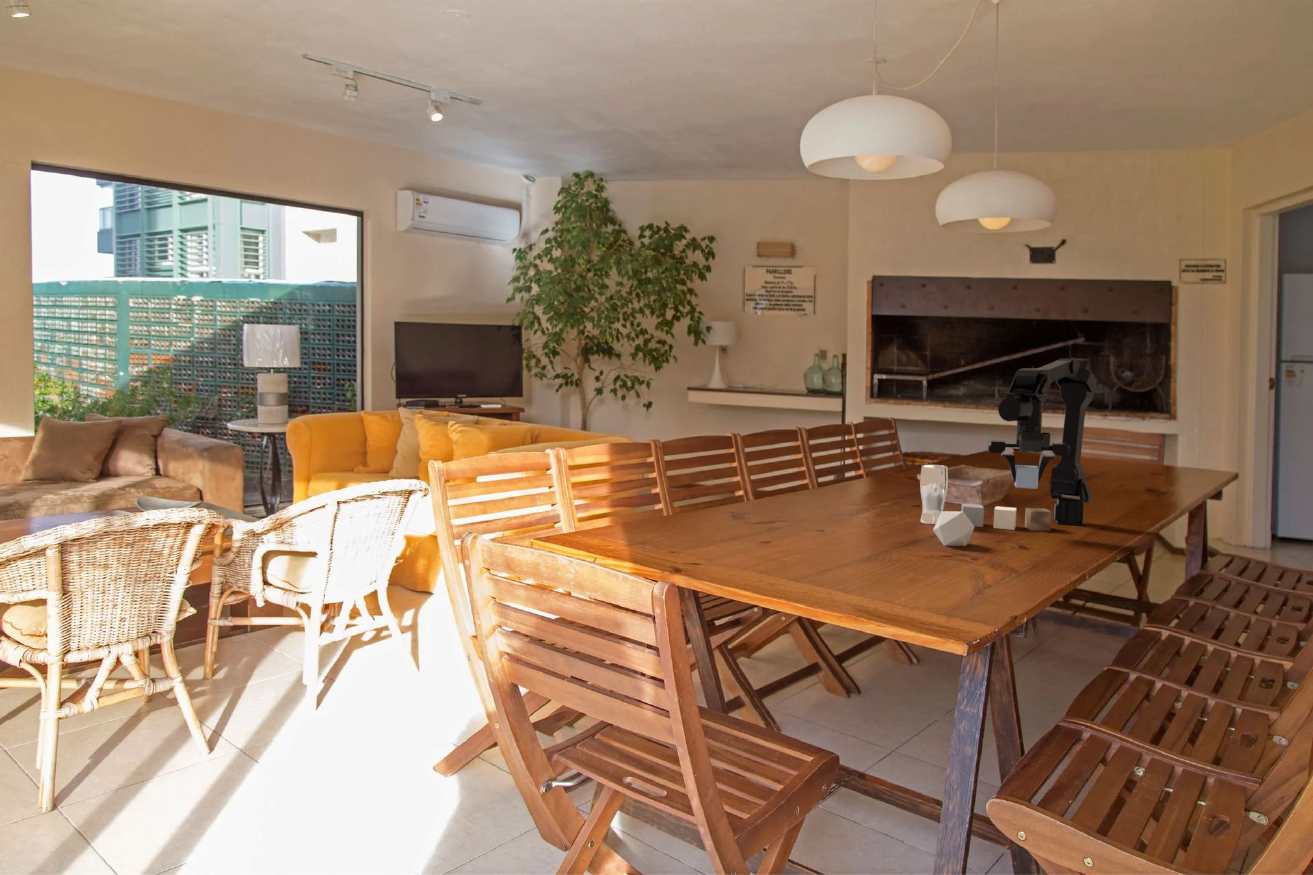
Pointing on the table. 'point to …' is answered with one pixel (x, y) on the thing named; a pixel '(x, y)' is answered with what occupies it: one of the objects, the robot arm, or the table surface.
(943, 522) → the die
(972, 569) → the table surface
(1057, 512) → the robot arm
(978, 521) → the grey cube
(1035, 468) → the bluish grey cube
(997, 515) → the cream cube
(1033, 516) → the walnut cube
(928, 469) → the beer glass
